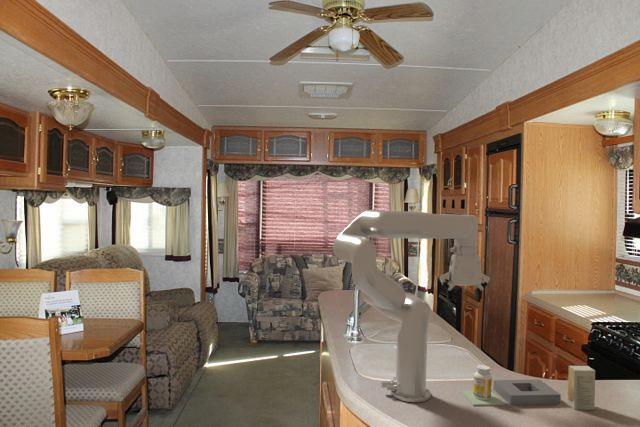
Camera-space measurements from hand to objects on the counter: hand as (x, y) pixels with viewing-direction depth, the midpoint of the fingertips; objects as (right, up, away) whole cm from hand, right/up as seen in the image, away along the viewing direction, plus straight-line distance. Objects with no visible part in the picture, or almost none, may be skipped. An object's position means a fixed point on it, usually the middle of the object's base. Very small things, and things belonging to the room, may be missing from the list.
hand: (463, 301), depth 162 cm
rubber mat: (+3, -29, -11) cm, 31 cm away
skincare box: (+31, -30, -15) cm, 46 cm away
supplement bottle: (+3, -29, -11) cm, 30 cm away
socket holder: (+17, -29, -8) cm, 35 cm away
